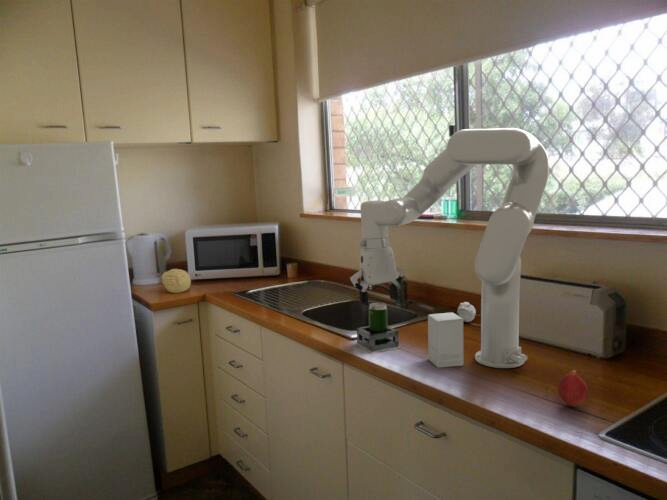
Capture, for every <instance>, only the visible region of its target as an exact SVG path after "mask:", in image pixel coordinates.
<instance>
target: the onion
mask: <svg viewBox="0 0 667 500" xmlns="http://www.w3.org/2000/svg"><path fill="white" fill-rule="evenodd" d="M577 373H578V372H577V370H572V371H570V372H569V373H567V374H565V375H564V376H563V377H561V379H559V382H558V384H557V393H558V396H559V398H560V399H561V400H562V401H563V402H564V403H566V404H567V405H568V406H569V407H572V408H574V407H577V406H578V405H580V404H582V403H583V402H584V401H586V399H587V397H588V396H589V395H588V394H589V390H588V386H587V385H588V384H587V383H586V382H585V381H584V379H583V378H582V377H580V376H579V375H577Z"/></svg>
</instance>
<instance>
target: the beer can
mask: <svg viewBox="0 0 667 500" xmlns="http://www.w3.org/2000/svg"><path fill="white" fill-rule="evenodd" d="M368 326H369V332H370V333H372V334H376V333H382V332H387V326H388V307H387V303H385V302H373V303H372V302H371V303H370V304H369V307H368ZM384 342H387V338H383V339H377V340H375V344H379V343H384Z"/></svg>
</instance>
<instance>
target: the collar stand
mask: <svg viewBox="0 0 667 500" xmlns="http://www.w3.org/2000/svg"><path fill="white" fill-rule="evenodd" d="M399 334H400V333H399V330H398V329H395V328H393V327H391V326H389V325H387V332H382V333H376V334H372V333H370V332H369V325H367V326H360V327H357V328H356V342H355V345H357V346H358V347H360V348H362V349H364V350H365V351H367V352H369V353H370V354H373V353H375V354H376V353H381V352H385V351H391V350H396V349H400V348H401V346H400V345H399ZM383 338H387V342H384V343H379V344H375V340H377V339H383Z"/></svg>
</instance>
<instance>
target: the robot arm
mask: <svg viewBox="0 0 667 500" xmlns="http://www.w3.org/2000/svg"><path fill="white" fill-rule="evenodd" d="M446 144H447V145H446V148H445V149H444V150H443V151H442V152H441V151H440V153H439V154H438V155H437V156H436V157H435V158H434V159H433V160H432V161H431V162H429V163H428V164H427V165H426V166H425V168H424V170H423V175H422V177H421V178H420V180H419V182H418V183H417V184H416V185H415V186H414V187H413V188H412V189H410V191H408V192H407V193H406V194H404V196H403V197H400V198H399V197H398V198H392V199H390V200H367V201H363V202H362V203H361V204H360V208H359V209H360V220H361V221H360V223H361V241H359V242H358V246H359V247H362V249H360V256H359V271H357V272H355V273H354V274H353V275H352V276H350V277H349V279H350V281H351V283H352V284H353V287H354V288H356V290H357V291H359V292H358V293H359V301H360V303H361V305H362V306H368V305H369V296H368V293H369V292H368V291H367V289H368V287H369V286H370V285H371V286H373V285H380V284H387V283H389V284H390V285H389V298H390V300H393V301H397V300H398V296H399V290H398V287H399V286H400V283H401V281H402V280H403V276H404V274H405V270H404V269H403V268H400V267H398V266H396V265H397V264H396V258H395V253H394V250H393V247H392V246H390V241H389V238H390V237H389V227H400V226H404V225H408V224H410V223H413V222H414V221H416V220H417V219H419V218H420V217H421V216H422V215H423V214H424V213H425V212H426V211H428V210H429V209H431V207H432V206H434V204H435V203H437V201H438V200H440V198H441V197H443V196H444V195H445V194H446V192H447V191H448V190H450V188H452V187H453V186H454V185H455V184H456V183H457V182H458V181H459V180H461V179H462V178H463V177H464V176H466V175H467V174H468V173H469V172H470V171H471V170H472V169H473V168H474V167H476V166H477V165H508V166H509V165H510V166H511V165H512V167H513V169H512V170H513V172H512V175H511V177H510V181H509V183H508V186H507V190H506V193H505V195H504V198H503V201H502V203H501V206H499V207H498V208H497V209H495V210H494V211H493V213H492V214H491V216H490V217H489V220H488V222H487V224H486V228H485V229H484V233H483V235H482V239H481V242H480V244H479V248H478V250H477V253H476V257H475V260H474V271H475V274H476V276H477V277H478V279H479V280H480V281H481V293H480V295H481V299H480V301H481V302H480V304H481V305H480V315H481V316H480V350H479V351H476V353H475V354H474V359H475V361H476V362H477V363H478V364H480V365H483V366H486V367H489V368H496V369H510V368H511V369H513V368H514V369H515V368H518V367H520V366H522V365H524V364H525V362H526V361H527V360H528V355H526V354H524V353H522V347H521V346H519V343H520V337H519V335H520V331H519V329H520V294H521V292H520V290H521V289H520V288H521V274H522V273H521V272H522V257H521V253H522V250H523V248H524V245H525V243H526V241H527V237H528V236H529V234H530V232H532V229H533V226H534V222H535V219H536V215H537V213H538V210H539V207H540V204H541V201H542V198H543V194H544V192H545V189H546V186H547V182H548V179H549V174H550V160H549V156H548V152H547V150H546V149H545V147H544V145H543V144H542V143H541V142H540V141H539V140H538V139H537V138H536V137H535V136H534V135H533V134H532V133H530V132H528V131H526V130H523V129H521V128H519V127H518V128H517V127H502V128H500V127H499V128H497V127H496V128H464V129H459V130H458V131H457V130H456V131H455V132H454V133H453V134H452V135H451V136H450V137H449V139H448V141H447V143H446ZM358 279H360V283H359V282H358Z"/></svg>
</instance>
